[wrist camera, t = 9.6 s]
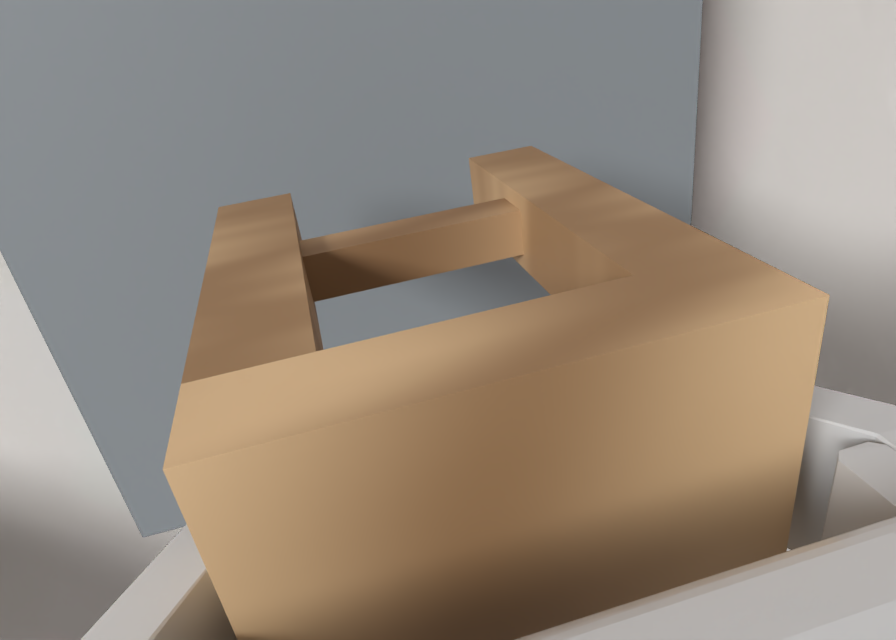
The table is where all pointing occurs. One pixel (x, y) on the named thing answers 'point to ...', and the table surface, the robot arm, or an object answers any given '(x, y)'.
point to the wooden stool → (488, 416)
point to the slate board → (296, 160)
